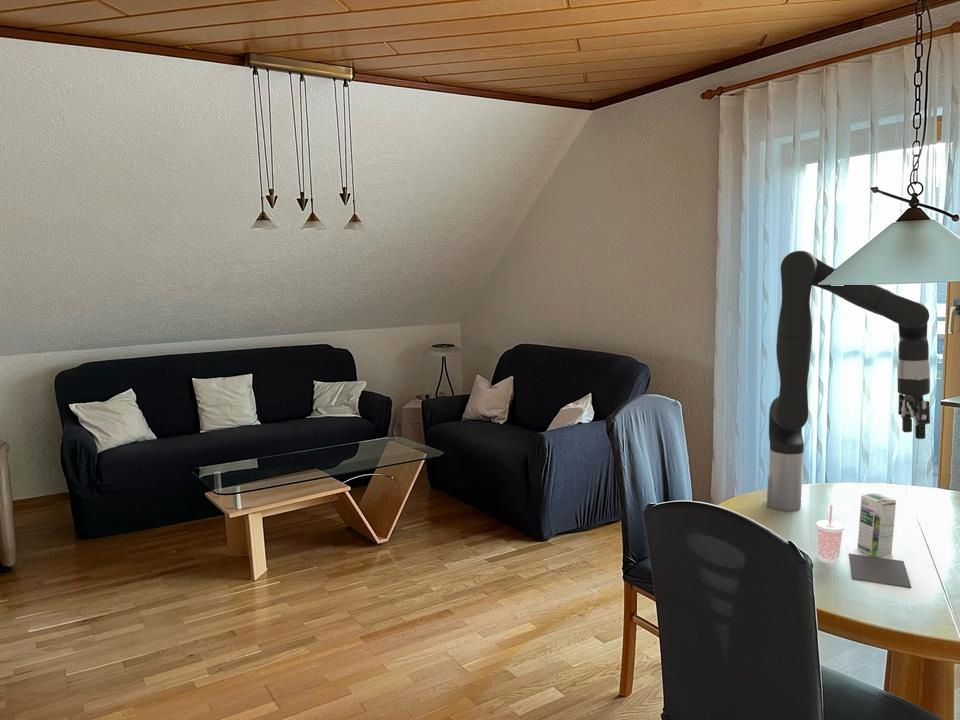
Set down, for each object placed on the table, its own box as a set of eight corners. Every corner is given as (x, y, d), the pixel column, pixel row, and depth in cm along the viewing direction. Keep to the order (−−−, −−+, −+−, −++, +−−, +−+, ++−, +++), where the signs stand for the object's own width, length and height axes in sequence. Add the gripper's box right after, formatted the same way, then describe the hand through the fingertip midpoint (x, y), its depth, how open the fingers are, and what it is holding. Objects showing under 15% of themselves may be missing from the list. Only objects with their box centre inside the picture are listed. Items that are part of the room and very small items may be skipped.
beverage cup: (815, 552, 186) (818, 499, 184) (842, 556, 183) (845, 503, 181) (813, 561, 181) (816, 507, 179) (841, 566, 178) (844, 511, 176)
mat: (851, 579, 171) (851, 577, 171) (848, 554, 185) (848, 553, 185) (911, 588, 166) (911, 586, 166) (903, 562, 180) (903, 560, 180)
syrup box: (856, 549, 188) (859, 494, 186) (874, 546, 190) (878, 492, 187) (874, 558, 182) (878, 502, 180) (892, 554, 184) (897, 499, 182)
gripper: (888, 373, 206) (888, 430, 207) (909, 380, 192) (909, 441, 193) (917, 372, 204) (917, 429, 206) (940, 379, 190) (940, 440, 192)
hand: (913, 435), depth 200 cm, fingers open, 8 cm apart
